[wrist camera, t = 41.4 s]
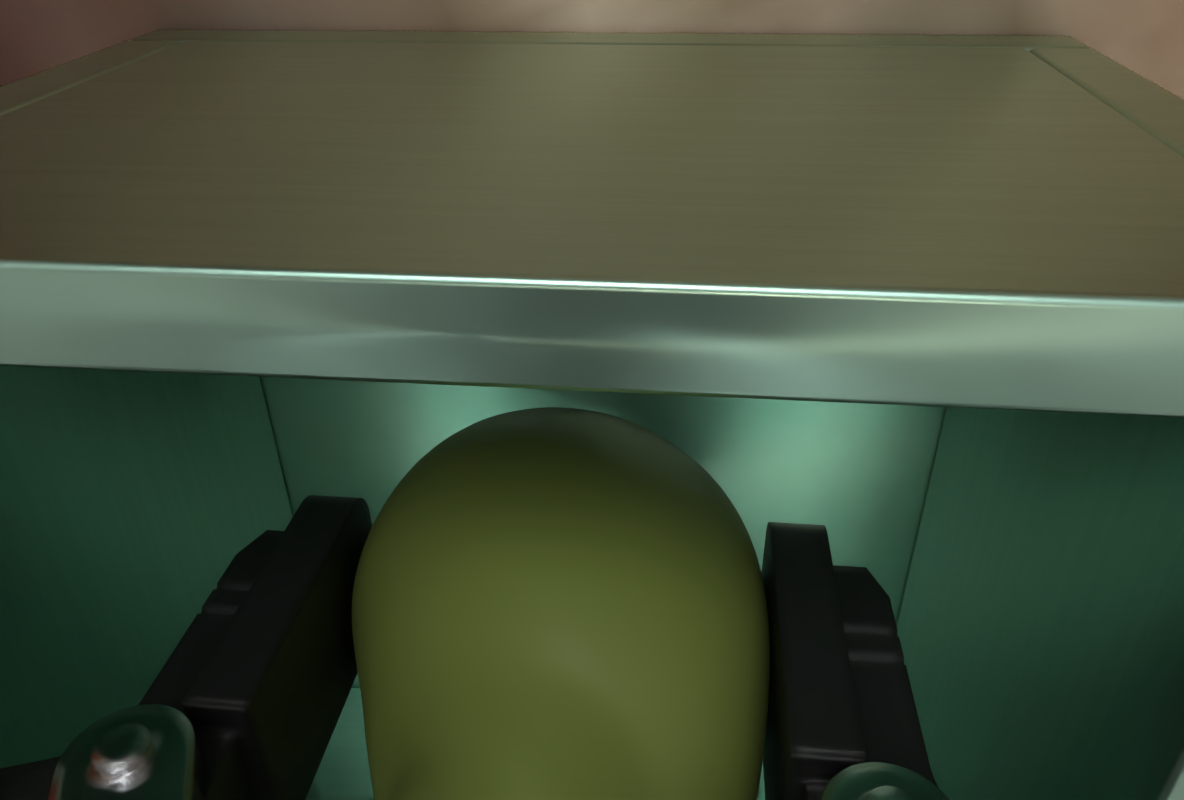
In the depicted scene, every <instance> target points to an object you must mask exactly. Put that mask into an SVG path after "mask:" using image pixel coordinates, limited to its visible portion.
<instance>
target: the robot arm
mask: <svg viewBox="0 0 1184 800" xmlns="http://www.w3.org/2000/svg"><path fill="white" fill-rule="evenodd" d="M371 528H372V522H371V517H370V511H369V507H368V504H367V502H366V501H365V500H364V499H363V498H354V497H336V496H318V495H309V496H307V497H306V498H305V499H304V500H303V501H302V503H301V504H300V506H299V508H298V509H297V511H296V513H295V514H294V516H293V518H292V519H291V521H290V523H289V524H288V526H287V528H286V529H285V531H276V530H266V531H265V532H264V533H263V534H261V535H260V536H259V537H258V538H256V539H255V540H254V541H252V542H251V543H250V544H249V545H247V546H246V547H245V548H244V549H242V550H241V551H240V552H239V553H237V554H236V555H235V557H234V558H233V560H232V561H231V563H230V564H229V566H228V568H227V569H226V571H225V572H224V574H223V575H222V577H221V578H220V580H219V581H218V583H217V589H216V590H215V589H213V591H212V592H211V594H210V595H209V597H208V598H207V600H206V601H205V603H204V605H203V606H202V612H201V614H197V615H196V617H195V618H194V620H193V622H192V623H191V625H190V626H189V628H188V629H187V631H186V632H185V634H184V635H183V637H182V638H181V640H180V642H179V643H178V645H177V646H176V648H175V649H174V651H173V652H172V654H171V655H170V657H169V659H168V660H167V662H166V663H165V665H164V666H163V668H162V669H161V671H160V672H159V674H158V675H157V677H156V679H155V680H154V682H153V683H152V685H151V686H150V688H149V689H148V691H147V692H146V694H145V695H144V697H143V699H142V700H141V702H140V703H139V704H138V705H137V706H132V707H128V708H125V709H121V710H119V711H117V712H114V713H112V714H109V715H107V716H105V717H104V718H102V719H100V720H98V721H97V722H95V723H94V724H92V725H91V726H89V727H88V728H86V729H85V730H84V731H83V732H82V733H80V734H79V735H78V736H77V737H76V738H75V739H74V740H73V741H72V742H71V743H70V744H69V746H68V747H67V748H66V750H65V751H64V752H63V754H62V756H59V757H55V758H51V759H46V760H41V761H36V762H31V763H26V764H20V765H15V766H10V767H5V768H0V800H305V799H306V797H307V794H308V792H309V789H310V787H311V785H312V782H313V780H314V777H315V775H316V772H317V770H318V768H319V765H320V763H321V760H322V758H323V755H324V753H325V751H326V748H327V746H328V743H329V741H330V739H331V736H332V734H333V731H334V729H335V726H336V724H337V722H338V719H339V717H340V714H341V712H342V709H343V707H344V705H345V702H346V700H347V697H348V695H349V693H350V690H351V688H352V685H353V683H354V680H355V678H356V676H357V673H358V671H357V665H356V658H355V651H354V643H353V633H352V595H353V587H354V581H355V575H356V571H357V567H358V563H359V560H360V556H361V553H362V550H363V547H364V545H365V542H366V540H367V537H368V535H369V532H370V530H371ZM761 573H762V578H763V582H764V588H765V594H766V601H767V609H768V619H769V633H770V681H769V700H768V714H767V726H766V736H765V745H764V754H763V772H764V788H765V800H949V798H948V797H947V796H946V795H945V794H944V793H943V792H942V791H941V790H940V789H939V787H938V785H937V783H936V781H935V779H934V777H933V774H932V771H931V768H930V764H929V760H928V756H927V752H926V747H925V743H924V739H923V735H922V731H921V726H920V722H919V718H918V714H917V710H916V706H915V701H914V697H913V693H912V689H911V685H910V680H909V676H908V672H907V668H906V665H904V655H903V651H902V647H901V643H900V639H899V637H898V636H897V631H898V630H897V626H896V622H895V618H894V613H893V609H892V605H891V601H890V597H889V596H888V594H887V593H886V592H885V591H884V589H883V588H882V587H881V586H880V584H879V583H878V582H877V580H876V579H875V578H874V577H873V575H872V574H871V573H870V572H869V570H868V569H867V568H866V567H854V566H837V565H833V563H832V557H831V551H830V545H829V539H828V534H827V530H826V527H825V525H814V524H797V523H779V522H768V524H767V529H766V536H765V544H764V553H763V562H762V571H761Z"/></svg>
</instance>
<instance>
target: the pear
mask: <svg viewBox="0 0 1184 800" xmlns="http://www.w3.org/2000/svg"><path fill="white" fill-rule="evenodd" d="M352 633H353V643H354V651H355V658H356V665H357V671H358V678H359V684H360V690H361V698H362V706H363V716H364V726H365V736H366V745H367V752H368V759H369V766H370V772H371V779H372V786H373V793H374V800H757V795H758V789H759V783H760V777H761V770H762V762H763V754H764V745H765V736H766V726H767V714H768V700H769V681H770V633H769V619H768V609H767V601H766V594H765V588H764V582H763V578H762V573H761V569H760V565H759V561H758V558H757V555H756V552H755V549H754V546H753V543H752V541H751V538H750V536H749V533H748V531H747V529H746V527H745V525H744V523H743V521H742V519H741V517H740V515H739V513H738V512H737V510H736V508H735V507H734V505H733V503H732V502H731V500H730V499H729V498H728V496H727V495H726V493H725V492H724V491H723V489H722V488H721V487H720V486H719V484H718V483H717V482H716V481H715V480H714V479H713V478H712V477H711V475H710V474H709V473H708V472H707V471H706V470H705V469H704V468H703V467H702V466H701V465H699V464H698V463H697V462H696V461H695V460H694V459H693V458H691V457H690V456H689V455H688V454H686V453H685V452H684V451H683V450H681V449H680V448H678V447H677V446H676V445H674V444H673V443H671V442H670V441H668V440H666V439H665V438H663V437H661V436H660V435H658V434H656V433H654V432H652V431H650V430H648V429H646V428H644V427H642V426H640V425H638V424H635V423H633V422H630V421H628V420H625V419H622V418H619V417H616V416H613V415H609V414H605V413H601V412H596V411H590V410H584V409H575V408H560V407H547V408H532V409H524V410H517V411H512V412H507V413H503V414H499V415H496V416H493V417H489V418H487V419H484V420H481V421H479V422H476V423H474V424H472V425H470V426H468V427H466V428H464V429H462V430H460V431H458V432H456V433H455V434H453V435H451V436H450V437H448V438H447V439H445V440H444V441H442V442H441V443H439V444H438V445H437V446H435V447H434V448H433V449H432V450H430V451H429V452H428V453H427V454H426V455H425V456H423V457H422V458H421V459H420V460H419V461H418V462H417V463H416V464H415V465H414V466H413V467H412V468H411V469H410V470H409V472H408V473H407V474H406V475H405V476H404V477H403V479H402V480H401V481H400V482H399V484H398V485H397V486H396V487H395V489H394V490H393V492H392V493H391V495H390V496H389V498H388V499H387V501H386V502H385V504H384V505H383V507H382V509H381V511H380V512H379V514H378V516H377V518H376V520H375V522H374V524H373V526H372V528H371V530H370V532H369V535H368V537H367V540H366V542H365V545H364V547H363V550H362V553H361V556H360V560H359V563H358V567H357V571H356V575H355V581H354V587H353V595H352Z"/></svg>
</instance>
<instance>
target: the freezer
mask: <svg viewBox="0 0 1184 800" xmlns="http://www.w3.org/2000/svg"><path fill="white" fill-rule="evenodd" d="M547 407H560V408H575V409H584V410H590V411H596V412H601V413H605V414H609V415H613V416H616V417H619V418H622V419H625V420H628V421H630V422H633V423H635V424H638V425H640V426H642V427H644V428H646V429H648V430H650V431H652V432H654V433H656V434H658V435H660V436H661V437H663V438H665V439H666V440H668V441H670V442H671V443H673V444H674V445H676V446H677V447H678V448H680V449H681V450H683V451H684V452H685V453H686V454H688V455H689V456H690V457H691V458H693V459H694V460H695V461H696V462H697V463H698V464H699V465H701V466H702V467H703V468H704V469H705V470H706V471H707V472H708V473H709V474H710V475H711V477H712V478H713V479H714V480H715V481H716V482H717V483H718V484H719V486H720V487H721V488H722V489H723V491H724V492H725V493H726V495H727V496H728V498H729V499H730V500H731V502H732V503H733V505H734V507H735V508H736V510H737V512H738V513H739V515H740V517H741V519H742V521H743V523H744V525H745V527H746V529H747V531H748V533H749V536H750V538H751V541H752V543H753V546H754V549H755V552H756V555H757V558H758V561H759V565H760V569H761V571H762V562H763V553H764V544H765V536H766V529H767V524H768V522H779V523H797V524H814V525H825V527H826V530H827V534H828V539H829V545H830V551H831V557H832V563H833V565H837V566H854V567H866V568H867V569H868V570H869V572H870V573H871V574H872V575H873V577H874V578H875V579H876V580H877V582H878V583H879V584H880V586H881V587H882V588H883V589H884V591H885V592H886V593H887V594H888V596H889V597H890V601H891V605H892V609H893V613H894V618H895V622H896V626H897V630H898V631H897V636H898V637H899V639H900V643H901V647H902V651H903V655H904V665H906V668H907V672H908V676H909V680H910V685H911V689H912V693H913V697H914V701H915V706H916V710H917V714H918V718H919V722H920V726H921V731H922V735H923V739H924V743H925V747H926V752H927V756H928V760H929V764H930V768H931V771H932V774H933V777H934V779H935V781H936V783H937V785H938V787H939V789H940V790H941V791H942V792H943V793H944V794H945V795H946V796H947V797H948V798H949V800H1184V100H1183V99H1181V98H1180V97H1178V96H1176V95H1174V94H1173V93H1171V92H1169V91H1167V90H1165V89H1164V88H1162V87H1160V86H1158V85H1157V84H1155V83H1153V82H1151V81H1149V80H1148V79H1146V78H1144V77H1142V76H1141V75H1139V74H1137V73H1135V72H1134V71H1132V70H1130V69H1128V68H1126V67H1125V66H1123V65H1121V64H1119V63H1118V62H1116V61H1114V60H1112V59H1110V58H1109V57H1107V56H1105V55H1103V54H1102V53H1100V52H1098V51H1096V50H1094V49H1091V48H1090V47H1088V46H1086V45H1085V44H1083V43H1081V42H1079V41H1078V40H1076V39H1074V38H1072V37H1070V36H999V35H855V34H711V33H566V32H422V31H278V30H156V31H153V32H150V33H147V34H145V35H142V36H139V37H136V38H134V39H132V40H130V41H124V42H121V43H119V44H116V45H113V46H111V47H108V48H105V49H102V50H100V51H97V52H94V53H91V54H89V55H86V56H83V57H80V58H78V59H75V60H72V61H69V62H67V63H64V64H61V65H58V66H56V67H53V68H50V69H47V70H45V71H42V72H39V73H36V74H34V75H31V76H28V77H26V78H23V79H20V80H17V81H15V82H12V83H9V84H6V85H4V86H1V87H0V768H5V767H10V766H15V765H20V764H26V763H31V762H36V761H41V760H46V759H51V758H55V757H59V756H62V754H63V752H64V751H65V750H66V748H67V747H68V746H69V744H70V743H71V742H72V741H73V740H74V739H75V738H76V737H77V736H78V735H79V734H80V733H82V732H83V731H84V730H85V729H86V728H88V727H89V726H91V725H92V724H94V723H95V722H97V721H98V720H100V719H102V718H104V717H105V716H107V715H109V714H112V713H114V712H117V711H119V710H121V709H125V708H128V707H132V706H137V705H138V704H139V703H140V702H141V700H142V699H143V697H144V695H145V694H146V692H147V691H148V689H149V688H150V686H151V685H152V683H153V682H154V680H155V679H156V677H157V675H158V674H159V672H160V671H161V669H162V668H163V666H164V665H165V663H166V662H167V660H168V659H169V657H170V655H171V654H172V652H173V651H174V649H175V648H176V646H177V645H178V643H179V642H180V640H181V638H182V637H183V635H184V634H185V632H186V631H187V629H188V628H189V626H190V625H191V623H192V622H193V620H194V618H195V617H196V615H197V614H201V612H202V606H203V605H204V603H205V601H206V600H207V598H208V597H209V595H210V594H211V592H212V591H213V589H215V590H216V589H217V583H218V581H219V580H220V578H221V577H222V575H223V574H224V572H225V571H226V569H227V568H228V566H229V564H230V563H231V561H232V560H233V558H234V557H235V555H236V554H237V553H239V552H240V551H241V550H242V549H244V548H245V547H246V546H247V545H249V544H250V543H251V542H252V541H254V540H255V539H256V538H258V537H259V536H260V535H261V534H263V533H264V532H265V531H266V530H276V531H285V529H286V528H287V526H288V524H289V523H290V521H291V519H292V518H293V516H294V514H295V513H296V511H297V509H298V508H299V506H300V504H301V503H302V501H303V500H304V499H305V498H306V497H307V496H309V495H318V496H336V497H354V498H363V499H364V500H365V501H366V502H367V504H368V507H369V511H370V517H371V522H372V526H373V524H374V522H375V520H376V518H377V516H378V514H379V512H380V511H381V509H382V507H383V505H384V504H385V502H386V501H387V499H388V498H389V496H390V495H391V493H392V492H393V490H394V489H395V487H396V486H397V485H398V484H399V482H400V481H401V480H402V479H403V477H404V476H405V475H406V474H407V473H408V472H409V470H410V469H411V468H412V467H413V466H414V465H415V464H416V463H417V462H418V461H419V460H420V459H421V458H422V457H423V456H425V455H426V454H427V453H428V452H429V451H430V450H432V449H433V448H434V447H435V446H437V445H438V444H439V443H441V442H442V441H444V440H445V439H447V438H448V437H450V436H451V435H453V434H455V433H456V432H458V431H460V430H462V429H464V428H466V427H468V426H470V425H472V424H474V423H476V422H479V421H481V420H484V419H487V418H489V417H493V416H496V415H499V414H503V413H507V412H512V411H517V410H524V409H532V408H547ZM305 800H374V793H373V786H372V779H371V772H370V766H369V759H368V752H367V745H366V736H365V726H364V716H363V706H362V698H361V690H360V684H359V678H358V673H357V676H356V678H355V680H354V683H353V685H352V688H351V690H350V693H349V695H348V697H347V700H346V702H345V705H344V707H343V709H342V712H341V714H340V717H339V719H338V722H337V724H336V726H335V729H334V731H333V734H332V736H331V739H330V741H329V743H328V746H327V748H326V751H325V753H324V755H323V758H322V760H321V763H320V765H319V768H318V770H317V772H316V775H315V777H314V780H313V782H312V785H311V787H310V789H309V792H308V794H307V797H306V799H305ZM757 800H765V788H764V772H763V762H762V770H761V777H760V783H759V789H758V795H757Z"/></svg>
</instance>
